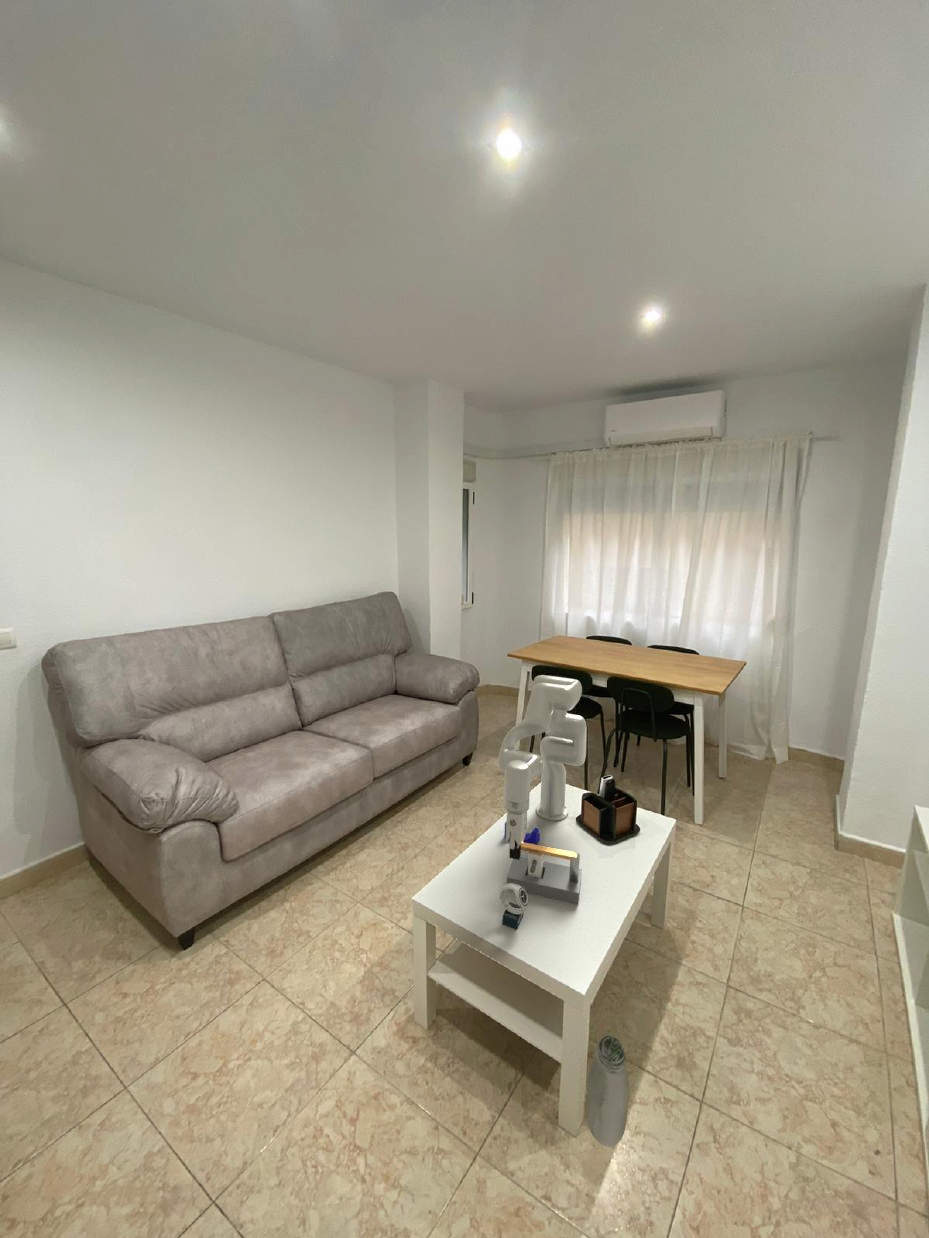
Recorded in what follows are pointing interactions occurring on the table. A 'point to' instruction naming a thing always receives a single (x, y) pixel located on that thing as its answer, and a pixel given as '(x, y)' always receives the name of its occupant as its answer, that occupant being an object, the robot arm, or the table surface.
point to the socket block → (546, 881)
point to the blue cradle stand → (530, 836)
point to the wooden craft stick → (571, 856)
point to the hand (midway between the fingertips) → (514, 857)
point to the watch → (514, 905)
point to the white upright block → (535, 865)
